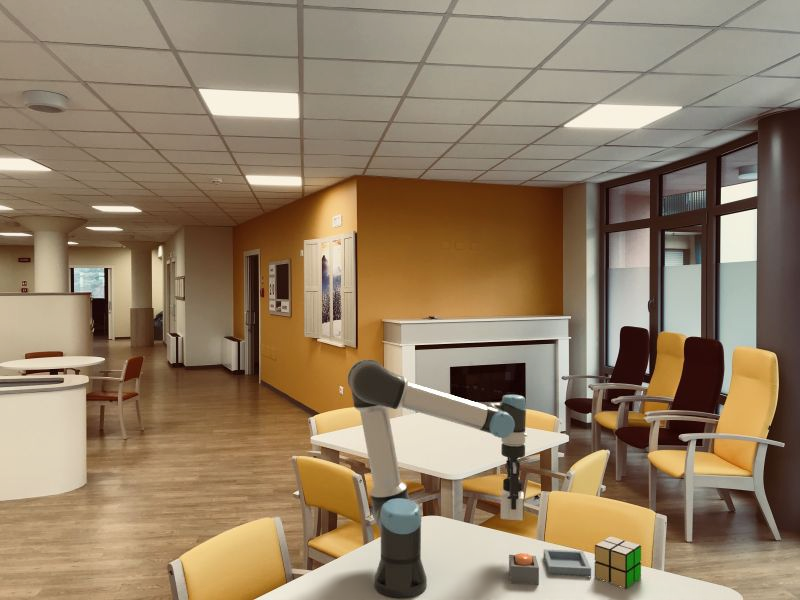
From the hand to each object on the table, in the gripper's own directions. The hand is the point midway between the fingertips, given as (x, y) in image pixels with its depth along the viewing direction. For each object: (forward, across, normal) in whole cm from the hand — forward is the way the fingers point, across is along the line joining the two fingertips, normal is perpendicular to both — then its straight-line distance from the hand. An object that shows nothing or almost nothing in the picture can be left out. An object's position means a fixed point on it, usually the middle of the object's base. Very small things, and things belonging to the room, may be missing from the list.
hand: (512, 514), depth 197 cm
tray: (+13, -6, -16) cm, 22 cm away
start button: (+10, -15, -2) cm, 18 cm away
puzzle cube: (+14, -12, -30) cm, 35 cm away
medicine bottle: (+1, 0, 0) cm, 1 cm away
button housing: (+14, -15, -2) cm, 20 cm away
